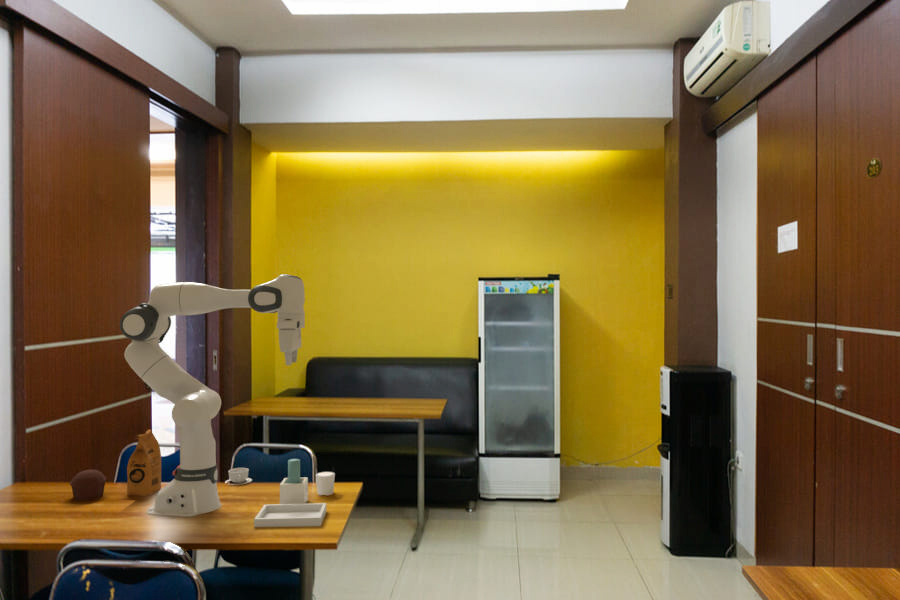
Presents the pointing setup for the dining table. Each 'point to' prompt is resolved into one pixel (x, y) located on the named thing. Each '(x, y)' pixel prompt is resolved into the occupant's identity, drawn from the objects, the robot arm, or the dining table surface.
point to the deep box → (294, 491)
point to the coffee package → (144, 466)
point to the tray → (290, 515)
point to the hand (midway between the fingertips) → (291, 363)
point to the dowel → (294, 471)
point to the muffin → (88, 485)
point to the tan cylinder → (325, 483)
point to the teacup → (238, 476)
